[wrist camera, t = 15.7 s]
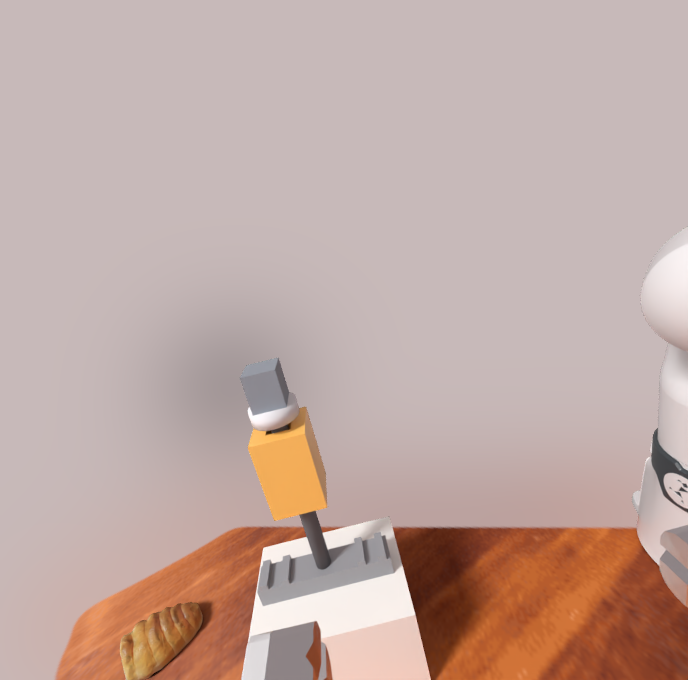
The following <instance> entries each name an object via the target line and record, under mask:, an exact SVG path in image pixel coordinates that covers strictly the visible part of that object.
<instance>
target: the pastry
mask: <svg viewBox="0 0 688 680" xmlns="http://www.w3.org/2000/svg"><path fill="white" fill-rule="evenodd" d="M202 621H203V617H202V612H201V610H200V607H199V605H198V603H192V602H190V603H185V604H181V603H180V604H177V605H176V606H174V607H172V608H171V607H166V608H165V609H164V610H163V611H162V612H157V613H153V614H151V615H150V616H149V618H148V620H142V621H140V622H138V623H137V624H136V625H135V627H134V629H133V631H132V632H131V633H129V634H127V635H124V636H123V637H122V639H121V644H120V655H121V657H122V664H123V669H124V674H125V677H126V680H145V679H147V678H150V676H151V675H152V674H154V673H155V672H157V671H160V670H161V669H162V668H163V667H164V666H165V665H166V664H168V663H169V662H170V661H171V659H173V658H174V657H175V656H176V655H177V654H178V653H179V652H180V651H181V650H182V649H183V648H184V647H185V646H186V645H187V644H188V643H189V642H190V641H191V640H192V639H193V637H194V636H195V634H196V632H197V631H198V630H199V628H200V627H201V624H202Z"/></svg>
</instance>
